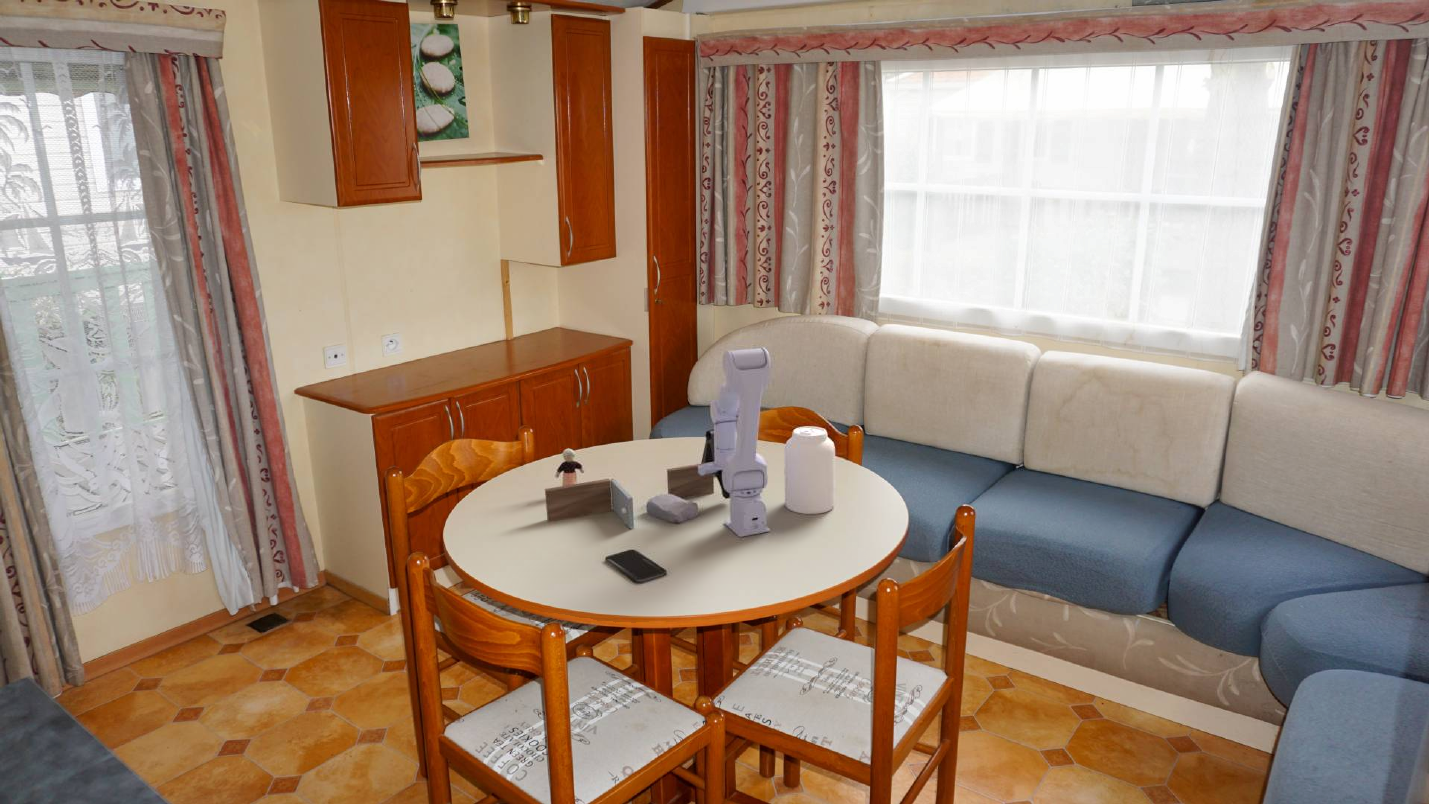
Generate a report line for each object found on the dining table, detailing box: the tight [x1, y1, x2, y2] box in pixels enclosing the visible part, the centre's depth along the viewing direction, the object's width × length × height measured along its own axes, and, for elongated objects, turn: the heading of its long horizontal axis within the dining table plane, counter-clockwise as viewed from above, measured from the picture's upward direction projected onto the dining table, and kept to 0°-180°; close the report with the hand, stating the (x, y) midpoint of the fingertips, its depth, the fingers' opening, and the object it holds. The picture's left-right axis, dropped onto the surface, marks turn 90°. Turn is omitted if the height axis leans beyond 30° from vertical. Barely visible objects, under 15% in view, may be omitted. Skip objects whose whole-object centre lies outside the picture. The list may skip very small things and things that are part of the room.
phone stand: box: [700, 428, 716, 476], centre depth 273 cm, size 9×6×12 cm, turn 36°
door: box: [610, 478, 635, 529], centre depth 241 cm, size 15×2×8 cm, turn 23°
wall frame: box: [544, 462, 715, 522], centre depth 249 cm, size 2×44×8 cm, turn 113°
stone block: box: [645, 493, 700, 525], centre depth 244 cm, size 12×5×10 cm
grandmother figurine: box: [554, 447, 585, 486], centre depth 258 cm, size 8×4×13 cm, turn 123°
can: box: [784, 425, 836, 515], centre depth 245 cm, size 12×12×20 cm
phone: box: [604, 549, 668, 585], centre depth 215 cm, size 8×1×15 cm
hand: (726, 497), depth 250 cm, fingers closed
